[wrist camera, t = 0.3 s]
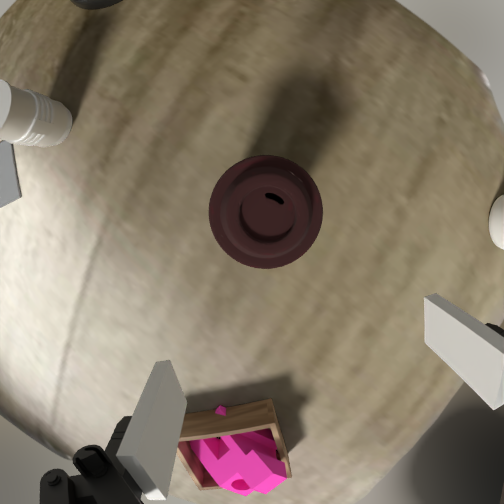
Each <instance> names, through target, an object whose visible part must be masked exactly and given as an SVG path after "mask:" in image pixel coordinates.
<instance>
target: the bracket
mask: <svg viewBox="0 0 504 504" xmlns="http://www.w3.org/2000/svg"><path fill="white" fill-rule="evenodd" d="M215 413H217V414H221V415H225V416H226V408H225V407H223V406H221V405H220V406H219V407H218V408H217V409H216V411H215ZM190 446H191V449H192V450H193V452H194V453H195V454H196V456H197V457H198V459H199V460H200V461H201V463H202V464H203V465H204V467H205V468H206V469H207V471H208V472H209V473H210V475H211V476H212V477H213V479H214V480H215V481H216V483H217V484H218V485H219V486H220V487H222V488H225V489H227V490H230V491H233V492H235V493H238V494H241V495H244V496H247V495H248V494H250V493H251V492H252V491H254V490H255V491H258V492H261V493H264V494H267V493H268V492H269V491H271V490H272V489H274V488H275V487H276V486H278V485H279V484H280V483H282V482H283V481H284V480H286V479H287V474H286V467H285V462H282V461H279V460H277V458H276V449H277V446H276V443H275V440H274V437H273V434H272V431H271V430H270V429H268V428H266V429H261V430H256V431H251V432H245V433H240V434H234V435H227V436H221V439H217V438H215V437H214V438H207V439H199V440H190Z"/></svg>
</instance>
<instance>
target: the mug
mask: <svg viewBox="0 0 504 504" xmlns="http://www.w3.org/2000/svg"><path fill="white" fill-rule="evenodd" d="M489 231H490V236H491V238H492V240H493V242H494V243H495V245H496V246H498V247H499V248H501V249H503V250H504V195H501V196H500V197H498V198H497V199H496V201H495V202H494V204H493V206H492V208H491V211H490V215H489Z"/></svg>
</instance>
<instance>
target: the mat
mask: <svg viewBox="0 0 504 504" xmlns="http://www.w3.org/2000/svg"><path fill="white" fill-rule="evenodd" d="M19 198H21V193H20V188H19V183H18V178H17V172H16V166H15V160H14V153H13V146H12V144H11V143H9V142H7V141H6V140H4V141H3V142H1V143H0V208H1V207H3V206H5V205H7V204H9V203H11V202H13V201H15V200H17V199H19Z"/></svg>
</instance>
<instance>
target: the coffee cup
mask: <svg viewBox="0 0 504 504" xmlns="http://www.w3.org/2000/svg"><path fill="white" fill-rule="evenodd" d="M322 217H323V206H322V200H321V196H320V193H319V190H318V188H317V186H316V184H315V182H314V181H313V179H312V178H311V177H310V175H309V174H308V173H307V172H306V171H305V170H304V169H303V168H301V167H300V166H299V165H297V164H296V163H294V162H292V161H290V160H288V159H285V158H282V157H278V156H272V155H260V156H254V157H250V158H247V159H244V160H242V161H240V162H238V163H236V164H235V165H233V166H232V167H230V168H229V169H228V170H227V171H226V172H225V173H224V174H223V175H222V176H221V178H220V179H219V180H218V182H217V184H216V185H215V187H214V190H213V192H212V195H211V198H210V203H209V221H210V226H211V229H212V232H213V235H214V237H215V239H216V241H217V242H218V244H219V245H220V247H221V248H222V249H223V250H224V251H225V252H226V253H227V254H228V255H229V256H230V257H232V258H233V259H235V260H236V261H238V262H240V263H242V264H244V265H247V266H250V267H254V268H261V269H271V268H277V267H281V266H284V265H287V264H289V263H292V262H293V261H295V260H297V259H298V258H300V257H301V256H302V255H303V254H304V253H305V252H307V250H308V249H309V248H310V247H311V246H312V244H313V243H314V241H315V239H316V238H317V236H318V233H319V230H320V228H321V224H322Z"/></svg>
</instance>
